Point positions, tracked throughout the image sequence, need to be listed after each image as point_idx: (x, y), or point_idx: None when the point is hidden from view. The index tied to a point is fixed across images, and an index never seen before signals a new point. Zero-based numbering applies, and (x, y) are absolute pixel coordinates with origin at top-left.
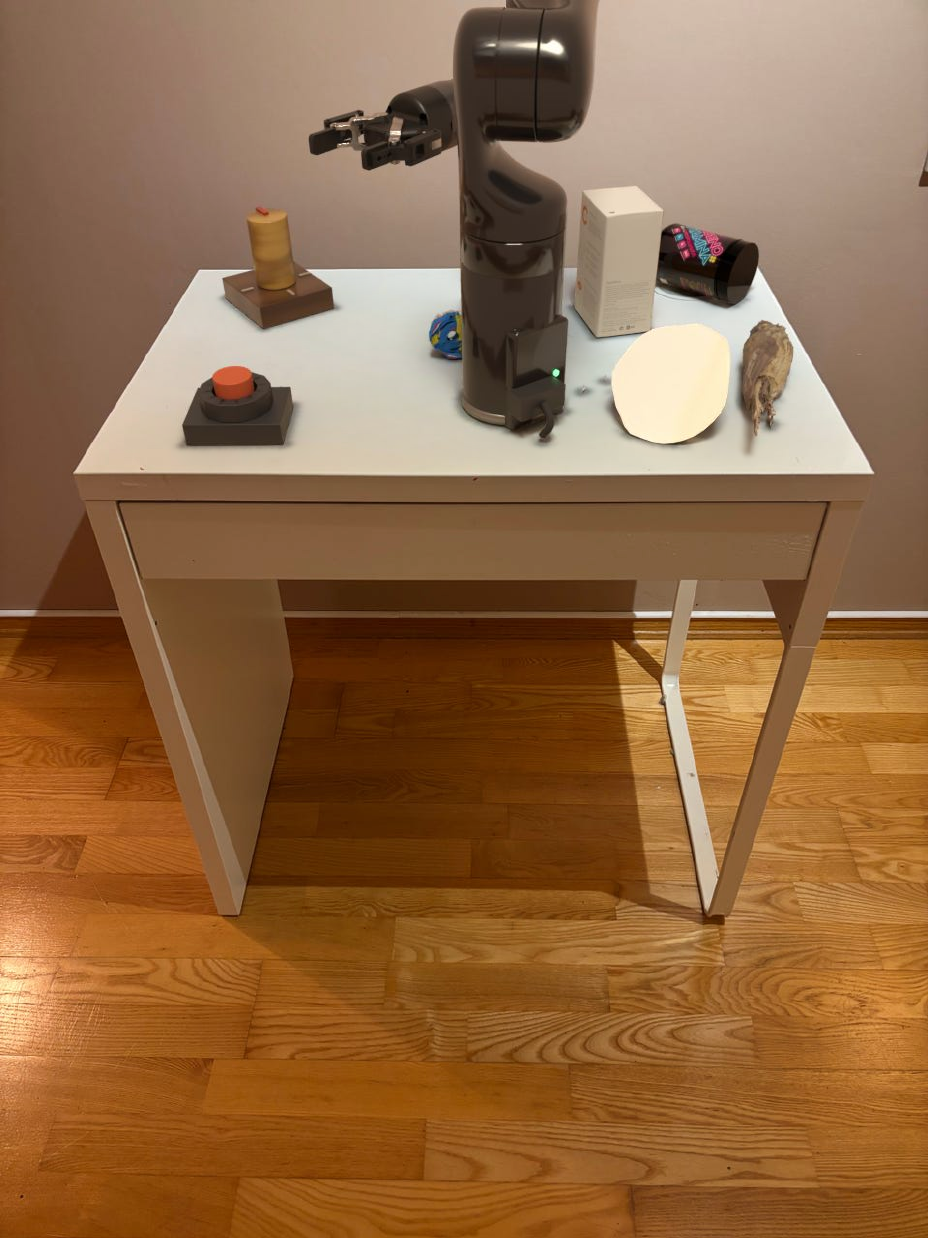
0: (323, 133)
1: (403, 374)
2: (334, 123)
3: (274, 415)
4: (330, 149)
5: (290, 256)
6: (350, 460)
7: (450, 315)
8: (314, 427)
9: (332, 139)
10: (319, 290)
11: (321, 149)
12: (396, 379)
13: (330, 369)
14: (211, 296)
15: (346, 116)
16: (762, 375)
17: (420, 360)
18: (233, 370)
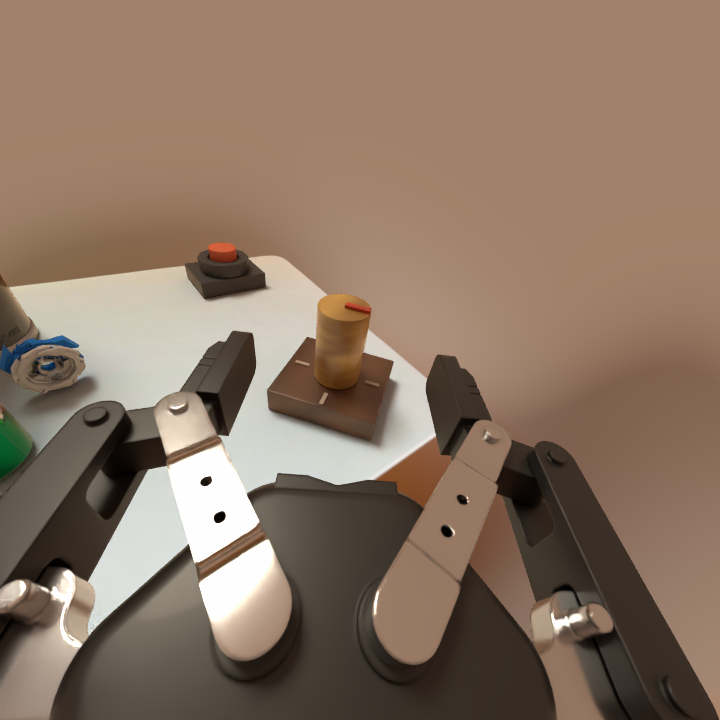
0: (446, 380)
1: (121, 346)
2: (490, 428)
3: (193, 266)
4: (436, 429)
5: (316, 352)
6: (132, 278)
7: (32, 338)
8: (175, 290)
9: (446, 423)
10: (276, 379)
11: (432, 398)
12: (126, 339)
13: (201, 333)
14: (404, 375)
15: (585, 547)
16: None
17: (106, 368)
18: (224, 249)
